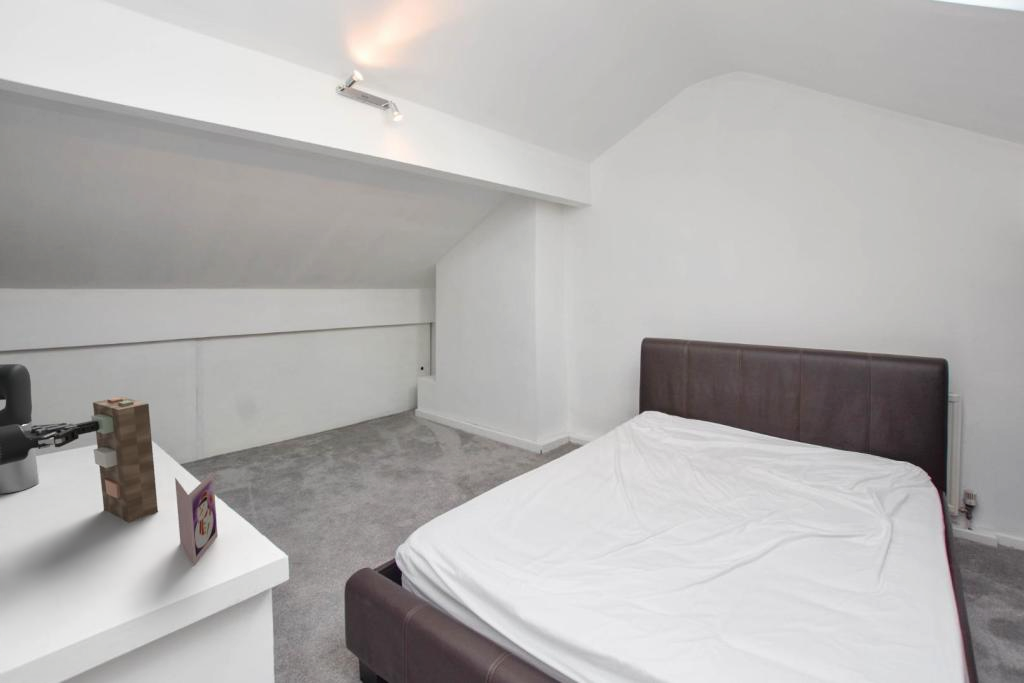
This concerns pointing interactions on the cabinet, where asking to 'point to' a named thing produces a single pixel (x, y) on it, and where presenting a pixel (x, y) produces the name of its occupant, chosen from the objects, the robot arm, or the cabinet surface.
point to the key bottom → (112, 488)
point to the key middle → (105, 457)
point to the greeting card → (197, 518)
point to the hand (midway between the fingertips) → (96, 425)
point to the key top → (104, 423)
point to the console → (128, 459)
